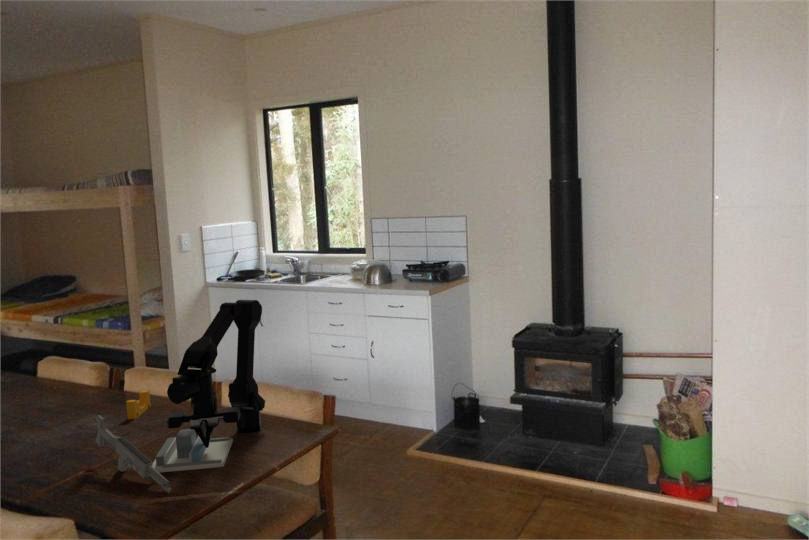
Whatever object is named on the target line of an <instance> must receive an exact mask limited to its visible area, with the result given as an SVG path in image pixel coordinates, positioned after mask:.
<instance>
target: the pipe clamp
mask: <svg viewBox="0 0 809 540" xmlns="http://www.w3.org/2000/svg"><path fill="white" fill-rule="evenodd" d="M125 403H126V405H125V406H126V414H127V420H136V419H137V418H139V417H140V416H141V415H143V413H144V412H145V411H146V410H149V408H150V407H151V406H152V405H151V394H150V390H141V391H140V392H139V398H138V400H137V399H128V400H126V402H125Z"/></svg>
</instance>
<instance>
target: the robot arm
mask: <svg viewBox="0 0 809 540" xmlns="http://www.w3.org/2000/svg"><path fill="white" fill-rule="evenodd" d="M262 312H263V306H262V304H261V303H260V301H259V300H257V299H237V300H236V301H235V302H227V301H225V302H223V303H221V304H220V306H219V310H218V312H217V313H216V315H215V316H214V318H213V319H212V321H211V323H210V324H209V326H208V327H207V328H206V330H205V331H204V333H203V334H202V336H201V337H200V338H199V339H197V340H195V341H193V342H192V343H191V344H190V345H189V346H188V348H186V350H185V351H184V354H183V358H182V359H181V362H180V366H179V368H178V371H177V376H175V377H173V378H172V379H171V381H172V382H171V383H170V384H169V385H168V387H167V390H166V393H167V395H166V396H167V397H168V399H169V400H170V402H172V403H173V404H176V405H180V404H182V403H184V402H186V401H189V400H190V407H191V408H192V414H187V412H186V411H184V410H183V411H174V412H172V413H171V414H170V415H169V417H168V418H167V420H166V421H167V422H166V424H167V429H178V428H181V427H182V425H183V424H184V423H190V426H189V429H194V430H195V432H196V435H197V437H198V436H199V437H200V439H201V440H202V442H203V444H204V446H205V447H206V448H208V447H209V444H210V439H212V436H213V432H214V431H213V430H214V428H217V427H218V425H219V423H220V421H221V420H223V422H224V423H225V424H232V423H236V429H237V432H238V433H250V432H251V433H252V432H260V431H261V428H262V425H263V424H262V421H261V412H262V411H263V410H264V409H265V407H266V399H264V398H263V397H262V396H261V395H260V393H259V386H258V383H257V382H256V380H255V377H254V366H255V365H254V364H255V363H254V361H255V339H256V338H255V337H256V334H255V333H256V328H257V327H258V325H259V324H260V322H261V319H262ZM233 322H234V324H235V326H236V328H237V347H236V348H237V349H236V371H235V372H236V373H235V374H236V376H235V378H234V379H233V381H232V382H230V383H229V384H228V395H227V397H228V402H229V403H230V407H229V406H228V407H225V408H224V410H223V411H218V398H217V396H216V397H214V394H213V391H214V386H213V375H212V374H214V373H216V372H217V369H216V368H214V366H213V365H214V363H215V361H216V359H217V357H218V354H219V353H218V347H219V344H220V343H221V341H222V340H223V338H224V336H225V335H226V333H227V332H228V331H229V329H230V327H231V326H232V324H233ZM216 410H217V412H215V411H216ZM205 420H207V423H205V422H206V421H205Z"/></svg>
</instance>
